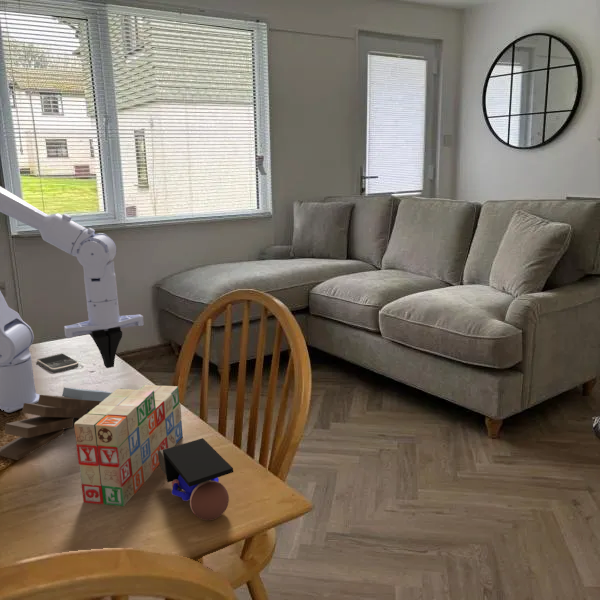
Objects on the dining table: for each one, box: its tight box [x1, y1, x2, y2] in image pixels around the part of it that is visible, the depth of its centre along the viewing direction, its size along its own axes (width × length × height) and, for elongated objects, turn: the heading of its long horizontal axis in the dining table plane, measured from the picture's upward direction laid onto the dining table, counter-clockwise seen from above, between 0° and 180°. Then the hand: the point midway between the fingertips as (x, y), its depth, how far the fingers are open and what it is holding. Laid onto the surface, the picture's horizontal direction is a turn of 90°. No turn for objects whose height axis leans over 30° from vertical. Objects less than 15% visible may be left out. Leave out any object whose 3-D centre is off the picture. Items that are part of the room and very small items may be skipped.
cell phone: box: [36, 353, 79, 373], centre depth 139 cm, size 6×11×1 cm, turn 43°
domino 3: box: [0, 429, 66, 461], centre depth 101 cm, size 2×5×10 cm
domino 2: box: [4, 416, 74, 438], centre depth 102 cm, size 2×5×10 cm
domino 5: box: [61, 386, 113, 402], centre depth 113 cm, size 2×5×10 cm
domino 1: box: [21, 403, 89, 419], centre depth 105 cm, size 2×5×10 cm
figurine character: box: [158, 437, 234, 521], centre depth 83 cm, size 7×8×15 cm
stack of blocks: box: [73, 384, 184, 507], centre depth 91 cm, size 21×6×12 cm, turn 169°
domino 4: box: [37, 394, 102, 410], centre depth 108 cm, size 2×5×10 cm
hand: (109, 366), depth 117 cm, fingers closed
